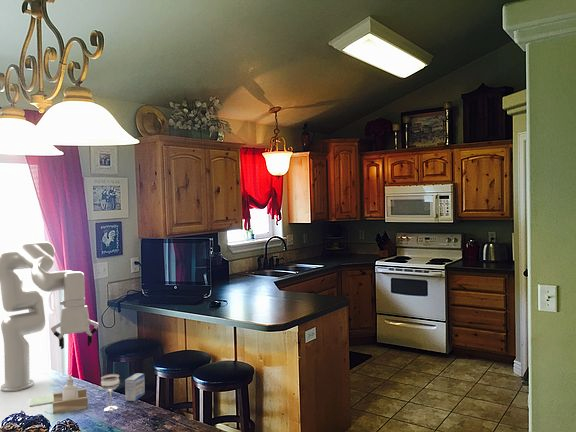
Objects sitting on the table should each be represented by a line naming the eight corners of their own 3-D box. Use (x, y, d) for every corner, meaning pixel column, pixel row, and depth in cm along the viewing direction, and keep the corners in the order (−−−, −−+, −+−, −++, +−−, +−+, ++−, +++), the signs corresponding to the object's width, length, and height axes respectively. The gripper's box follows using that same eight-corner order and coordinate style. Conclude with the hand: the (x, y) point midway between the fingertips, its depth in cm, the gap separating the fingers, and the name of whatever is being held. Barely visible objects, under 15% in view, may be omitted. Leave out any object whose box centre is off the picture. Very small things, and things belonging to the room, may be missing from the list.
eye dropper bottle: (68, 409, 182) (68, 378, 182) (61, 406, 185) (60, 375, 185) (79, 405, 185) (79, 374, 185) (71, 402, 189) (71, 372, 189)
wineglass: (123, 406, 183) (123, 375, 183) (108, 413, 177) (108, 381, 177) (112, 403, 187) (111, 373, 187) (97, 409, 181) (96, 378, 181)
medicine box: (135, 401, 188) (134, 379, 188) (125, 401, 189) (124, 379, 189) (145, 394, 196) (144, 373, 196) (135, 393, 197) (134, 372, 197)
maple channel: (53, 403, 188) (53, 393, 188) (86, 398, 193) (86, 388, 193) (53, 414, 178) (52, 403, 178) (87, 408, 183) (87, 397, 183)
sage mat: (31, 399, 193) (31, 397, 193) (55, 395, 197) (55, 393, 197) (29, 406, 185) (29, 405, 185) (55, 402, 189) (55, 401, 189)
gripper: (48, 306, 180) (49, 351, 180) (97, 303, 185) (98, 346, 185) (52, 303, 187) (53, 347, 187) (99, 300, 193) (100, 342, 192)
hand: (75, 346), depth 186 cm, fingers open, 9 cm apart
